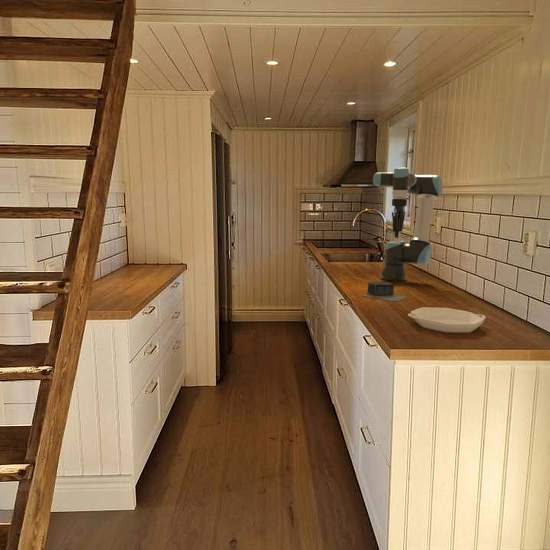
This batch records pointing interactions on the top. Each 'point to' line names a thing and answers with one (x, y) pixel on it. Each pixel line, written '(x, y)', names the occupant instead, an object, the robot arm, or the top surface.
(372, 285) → the box
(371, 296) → the mat
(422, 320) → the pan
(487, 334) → the top surface
